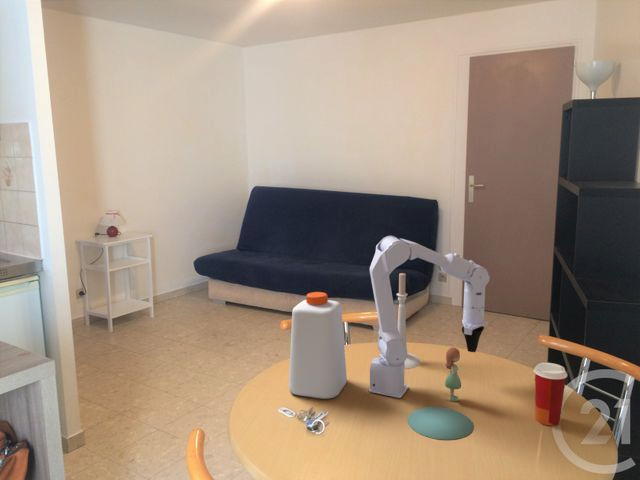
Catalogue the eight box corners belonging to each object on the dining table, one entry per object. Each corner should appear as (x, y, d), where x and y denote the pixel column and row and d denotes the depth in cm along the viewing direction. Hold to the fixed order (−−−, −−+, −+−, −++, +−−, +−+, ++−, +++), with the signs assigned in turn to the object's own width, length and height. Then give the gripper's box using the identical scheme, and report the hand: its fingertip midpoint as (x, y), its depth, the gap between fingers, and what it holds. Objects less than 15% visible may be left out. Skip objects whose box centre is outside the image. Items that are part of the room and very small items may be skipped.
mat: (399, 430, 129) (399, 429, 129) (418, 403, 143) (418, 402, 143) (465, 446, 121) (465, 445, 121) (478, 415, 136) (478, 414, 135)
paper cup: (562, 415, 135) (565, 363, 133) (565, 430, 128) (569, 375, 126) (529, 410, 138) (532, 360, 135) (531, 425, 130) (534, 371, 128)
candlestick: (425, 358, 174) (427, 269, 169) (415, 373, 162) (417, 278, 157) (387, 353, 179) (388, 266, 174) (376, 366, 167) (376, 275, 162)
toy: (462, 411, 138) (464, 357, 135) (445, 410, 138) (446, 356, 136) (459, 389, 150) (461, 339, 148) (444, 388, 151) (445, 338, 149)
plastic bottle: (335, 402, 144) (334, 303, 139) (284, 395, 148) (281, 299, 144) (350, 380, 158) (349, 289, 153) (303, 374, 162) (301, 286, 158)
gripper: (483, 314, 142) (481, 362, 144) (492, 301, 154) (490, 345, 157) (457, 311, 145) (455, 357, 147) (468, 298, 158) (466, 341, 160)
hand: (471, 351), depth 152 cm, fingers closed
